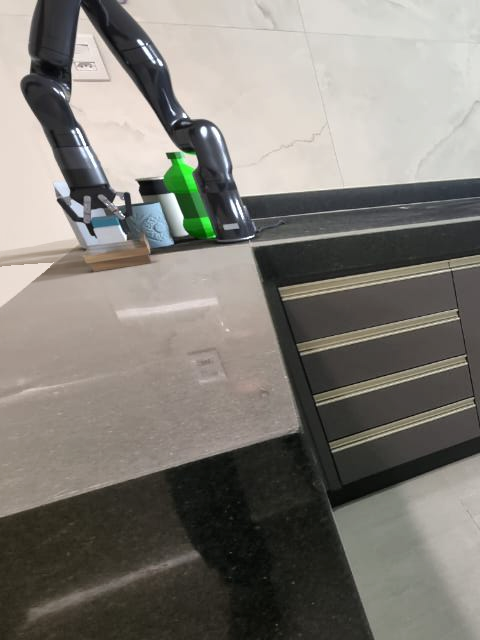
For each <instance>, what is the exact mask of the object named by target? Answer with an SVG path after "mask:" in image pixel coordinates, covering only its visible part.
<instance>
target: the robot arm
mask: <svg viewBox="0 0 480 640" xmlns="http://www.w3.org/2000/svg"><path fill="white" fill-rule="evenodd" d="M81 10H82V11H83V13H84V15H86V17H87V19H88V21H89V22H90V23H91V25H92V26H93V28H94V30H95V31H96V33H97V34H98V35H99V37H100V38H101V39H102V41H103V43H104V44H105V46H106V47H107V49H108V50H109V51H110V53H111V54H112V56H113V57H114V59H115V60H116V61H117V63H118V65H120V67H121V68H122V69H123V71H124V72H125V73H126V74H127V75H128V77H129V79H131V81H132V82H133V84H134V85H135V87H136V88H137V90H138V91H139V92H140V94H141V95H142V96H143V98H144V99H145V101H146V102H147V104H148V105H149V107H150V108H151V109H152V111H153V113H154V114H155V116H156V118H157V120H158V121H159V122H160V125H161V126H162V128H163V129H164V131H165V132H166V134H167V136H168V138H169V139H170V141H171V142H172V144H174V146H175V147H176V148H177V149H179V150H180V152H183V153H184V154H186V155H191V156H196V160H197V166H196V168H194V169H195V170H193V171H192V176H193V179H194V181H195V184H196V186H197V189H198V192H199V194H200V197H201V199H202V202H203V205H204V207H205V210H206V212H207V215H208V218H209V220H210V223H211V225H212V228H213V231H214V233H215V236H216V237H215V238H216V239H215V240H216V243H218V244H229V243H238V242H245V241H249V240H253V239H255V238H256V237H257V233H261V232H262V230H264V229H270V228H274V227H277V226H278V225H280V224H284V225H285V224H287V223H286V222H285V221H284V220H283V219H279V220H277V221H276V222H275V223H272V224H268V225H262V226H260V227H257V226H256V225H255V221H253V220H252V217H251V216H250V213H249V210H248V207H247V205H246V204H244V203H243V200H242V198H241V195H240V192H239V190H238V186H237V184H236V181H235V178H234V174H233V169H234V167H233V166H234V165H233V161H232V158H231V155H230V151H229V148H228V144H227V141H226V139H225V137H224V134H223V132H222V130H221V129H220V128H219V127H218V125H216V124H215V122H213V121H211V120H210V119H206V118H191V117H190V116H189V115H188V113H187V112H186V111H185V109H184V108H183V106H182V105H181V103H180V101H179V100H178V98H177V96H176V93H175V91H174V87H173V81H172V76H171V72H170V68H169V65H168V63H167V61H166V60H165V58H164V56H163V54H162V53H161V52H160V50H159V49H158V47H157V46H156V44H155V43H154V41H153V40H152V38H151V37H150V36H149V34H148V33H147V32H146V31H145V30H144V28H143V27H142V26H141V24H139V22H138V21H137V20H136V19H135V18H134V17H133V16H132V15H131V14H130V13H129V12H128V11H127V9H126V8H125V7H124V6H123V5H122V3H120V2H119V1H118V0H36V4H35V6H34V9H33V13H32V17H31V22H30V26H29V34H28V42H27V52H28V56H29V57H30V64H29V65H30V66H29V73H28V74H25V75H24V76H23V77H22V78H21V80H20V82H19V88H20V92H21V94H22V96H23V98H24V100H25V102H26V103H27V105H28V107H29V109H30V111H31V112H32V113H33V115H34V117H35V118H36V120H37V121H38V123H39V125H40V126H41V128H42V131H43V133H44V135H45V138H46V140H47V143H48V144H49V146H50V148H51V151H52V154H53V157H54V160H55V162H56V165H57V166H58V168H59V170H60V173H61V175H62V177H63V179H64V181H66V183H67V185H68V187H69V189H70V196H66V197H63V198H58V199H57V198H56V202H57V204H58V205H59V206H60V208H61V209H62V208H63V209H64V210H65V212H66V213H67V214H68V215H69V216H70V218H71V219H72V220H73V221H74V222H81V223H84V224H85V225H86V227H87V229H88V231H89V233H90V235H91V236H95V238H97V236H96V234H95V232H94V230H93V229H94V227H93V225H92V223H91V210H95V209H98V208H103V210H104V209H108V210H110V211H111V212H112V213H113V215H116V216H117V217H118V218H119V220H118V221H119V223H120V225H121V227H122V229H123V232H124V233H125V235H127V236H128V235H129V232H130V228H129V225H128V223H127V221H126V218H127V217H129V216H132V215H133V212H132V204H133V203H132V196H131V193H130V192H129V191H116V190H115V189H114V188H113V187H112V186H111V184H110V182H109V178H108V177H107V174H106V173H105V171H104V168H103V166H102V162H101V161H100V159H99V157H98V155H97V153H96V151H95V150H94V148H93V146H92V145H91V142H90V140H89V138H88V136H87V134H86V131H85V130H84V127H83V126H82V125H81V123H80V121H78V120H77V119H76V116H75V114H74V112H73V110H72V108H71V107H72V106H71V105H70V102H71V99H72V92H73V79H72V77H73V75H72V69H73V63H74V58H75V52H76V45H77V38H78V37H77V36H78V27H79V19H80V12H81ZM116 196H117V197H119V199H120V200H121V201H124V205H125V208H126V212H124V213H121V211H120V210H119V209H118V208H117V205H115V204H114V201H115V199H116ZM72 199H73V200H74V201H76V202H77V203H79V204H81V205H82V206H84V217H79V216H78V215H77V214H76V213H75V212H74V210H73V209H72V208H71V207H70V205H72V203H71V200H72ZM63 209H62V210H63ZM256 232H257V233H256Z"/></svg>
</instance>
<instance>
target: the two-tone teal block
mask: <svg viewBox="0 0 480 640" xmlns="http://www.w3.org/2000/svg"><path fill="white" fill-rule="evenodd" d="M118 220H119V218H118V217H117V216H116V215H115V214H112V215H111V214H110V215H106V216H101V217H92V219H91V223H92V225H93V227H94V229H93V230H94V232H95V234H96V236H97V240H98V242H99V244H100V245H102V244H110V243H117V242H125V241H127V238H128V237H127V236H128V234H127V235H125V233H124V232H123V229H122V227H121V225H120V223H119V221H118Z"/></svg>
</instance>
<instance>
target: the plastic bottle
mask: <svg viewBox="0 0 480 640" xmlns="http://www.w3.org/2000/svg"><path fill="white" fill-rule="evenodd" d="M165 156H166V158H167V160H170V162H171V166H170V167H169V168H168V169H167V171H166V172H165V173H164V175H163V176H164V178H163V181H164V184H165V186H166V188H167V189H168V191H170V192H172V193H173V194H174V195H175V197H176V200H177V202H178V205H179V207H180V210H181V212H182V215H183V217H184V218H183V227H184V230H185V231H186V232H187V233H188V234H189V235H190V236H191V237H194V238H196V239H197V240H207V239H212V238H216V236H215V233H214V231H213V228H212V225H211V223H210V220H209V218H208V215H207V212H206V210H205V207H204V205H203V202H202V199H201V197H200V194H199V192H198V189H197V186H196V184H195V181H194V179H193V176H192V171H193V170H195V169H196V168H194V167H192V166H190V165H189V164H187V163H186V161H185V159H186V156H185V153H184V152H183V151H172V152H171V151H170V152H169V151H168V152H165Z"/></svg>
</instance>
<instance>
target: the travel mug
mask: <svg viewBox="0 0 480 640" xmlns="http://www.w3.org/2000/svg"><path fill="white" fill-rule="evenodd" d="M163 178H164V175H163V176H162V175H161V176H148V177H147V176H146V177H140V178H139V177H138V178H135V179H134V181H135V182H137V184H138V193H139V195H140V197H141V200H142V203H145V202H160V204H161V207H162V210H163V213H164V216H165V219H166V221H167V223H168V226H169V230H170V232H171V234H172V237H173V239H176V238H177V239H178V238H183V237H186V236H189V235H190V234H188V233H187V232H186V231H185V230H184V227H183V218H184V217H183V215H182V212H181V210H180V207H179V205H178V202H177V200H176V197H175V195H174V194H173V193H172V192H170V191H168V189H167V188H166V186H165V184H164V181H163Z"/></svg>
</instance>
